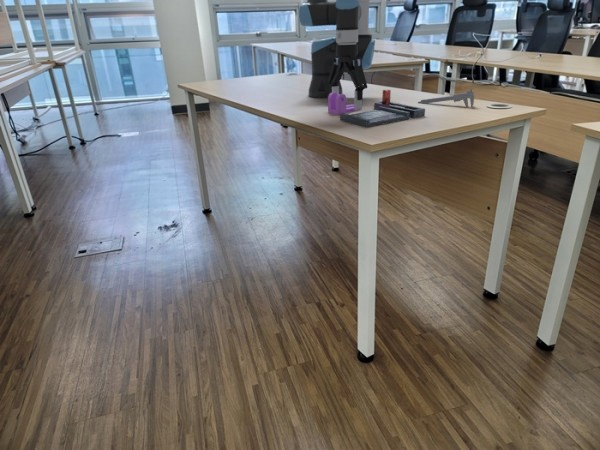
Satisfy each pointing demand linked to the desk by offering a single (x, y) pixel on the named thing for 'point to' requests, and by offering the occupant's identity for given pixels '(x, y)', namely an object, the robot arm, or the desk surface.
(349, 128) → the desk surface
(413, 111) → the frame
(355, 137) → the desk surface
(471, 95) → the caliper
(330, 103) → the bracket
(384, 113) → the press bed
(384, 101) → the lever
